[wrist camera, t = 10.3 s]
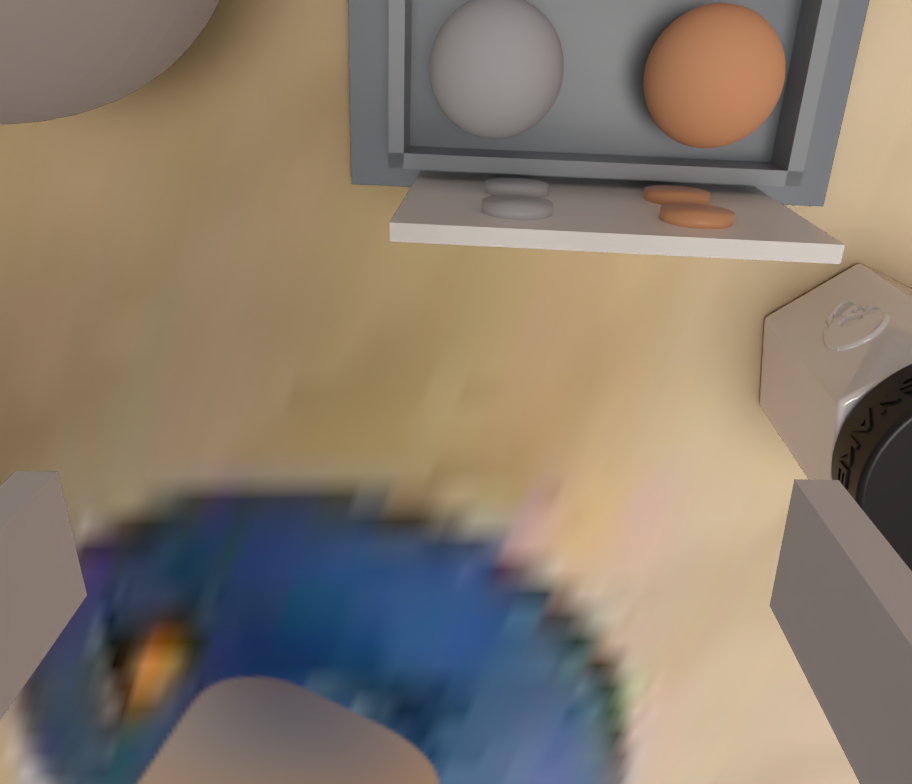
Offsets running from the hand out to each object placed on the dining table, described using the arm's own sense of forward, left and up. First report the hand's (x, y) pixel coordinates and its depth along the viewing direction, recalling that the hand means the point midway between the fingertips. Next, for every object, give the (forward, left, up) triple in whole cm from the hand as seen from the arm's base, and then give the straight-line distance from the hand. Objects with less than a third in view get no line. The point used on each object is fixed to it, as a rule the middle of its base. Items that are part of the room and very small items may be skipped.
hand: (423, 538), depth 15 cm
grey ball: (+1, +7, -23) cm, 24 cm away
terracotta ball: (+9, +7, -23) cm, 25 cm away
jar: (+18, -5, -24) cm, 30 cm away
